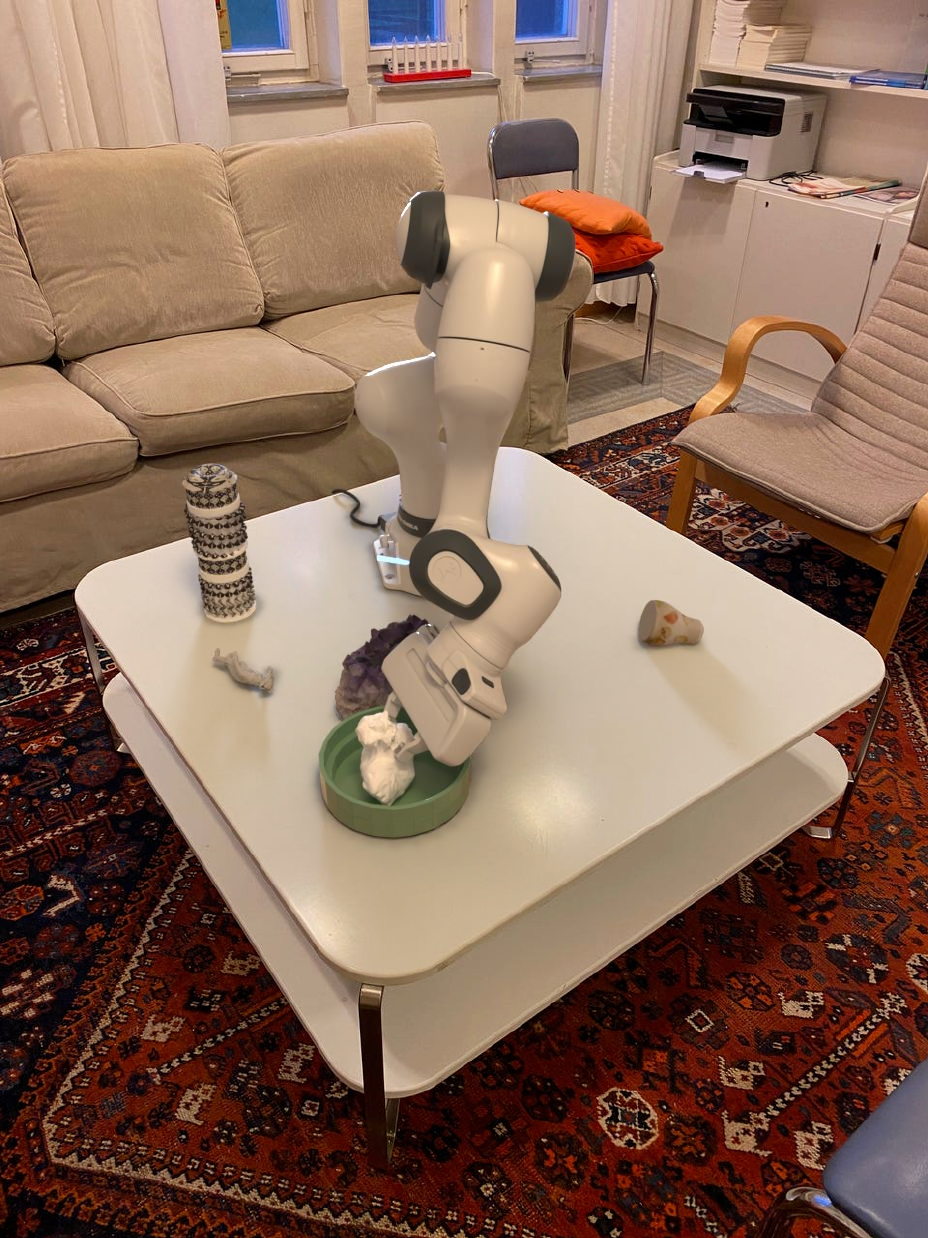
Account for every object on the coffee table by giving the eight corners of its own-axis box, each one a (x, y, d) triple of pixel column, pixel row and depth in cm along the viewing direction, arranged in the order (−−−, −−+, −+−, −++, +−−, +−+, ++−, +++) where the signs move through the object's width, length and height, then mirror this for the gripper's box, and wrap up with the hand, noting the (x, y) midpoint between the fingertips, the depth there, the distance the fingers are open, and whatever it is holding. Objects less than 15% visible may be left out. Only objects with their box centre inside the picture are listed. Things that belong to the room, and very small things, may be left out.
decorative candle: (219, 631, 152) (195, 490, 137) (191, 606, 157) (166, 469, 143) (269, 610, 156) (251, 472, 142) (240, 586, 162) (220, 452, 148)
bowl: (304, 757, 128) (301, 727, 125) (436, 720, 134) (436, 690, 131) (349, 860, 113) (346, 828, 110) (494, 812, 120) (495, 781, 117)
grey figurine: (246, 659, 147) (297, 666, 140) (237, 689, 146) (287, 698, 139) (207, 643, 141) (258, 651, 134) (196, 675, 140) (247, 684, 133)
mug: (710, 655, 148) (690, 616, 141) (650, 669, 152) (628, 632, 145) (706, 618, 153) (687, 579, 146) (648, 633, 156) (626, 596, 150)
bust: (402, 756, 128) (350, 698, 124) (444, 742, 124) (392, 682, 120) (371, 825, 119) (313, 765, 115) (415, 812, 115) (357, 750, 111)
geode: (379, 641, 150) (385, 589, 144) (447, 665, 147) (456, 613, 141) (319, 717, 133) (323, 661, 128) (394, 745, 131) (402, 690, 125)
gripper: (414, 607, 123) (346, 685, 125) (479, 700, 107) (401, 787, 110) (446, 627, 127) (380, 702, 129) (513, 720, 111) (437, 803, 114)
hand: (390, 742), depth 119 cm, fingers closed on bust, 5 cm apart
